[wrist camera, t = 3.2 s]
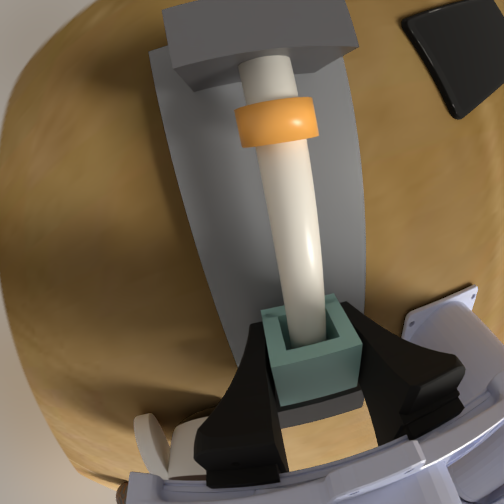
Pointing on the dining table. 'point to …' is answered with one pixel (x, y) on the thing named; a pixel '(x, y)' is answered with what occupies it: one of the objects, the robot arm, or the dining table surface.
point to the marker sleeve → (313, 356)
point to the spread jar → (170, 447)
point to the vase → (122, 493)
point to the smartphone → (461, 50)
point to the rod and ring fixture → (268, 164)
